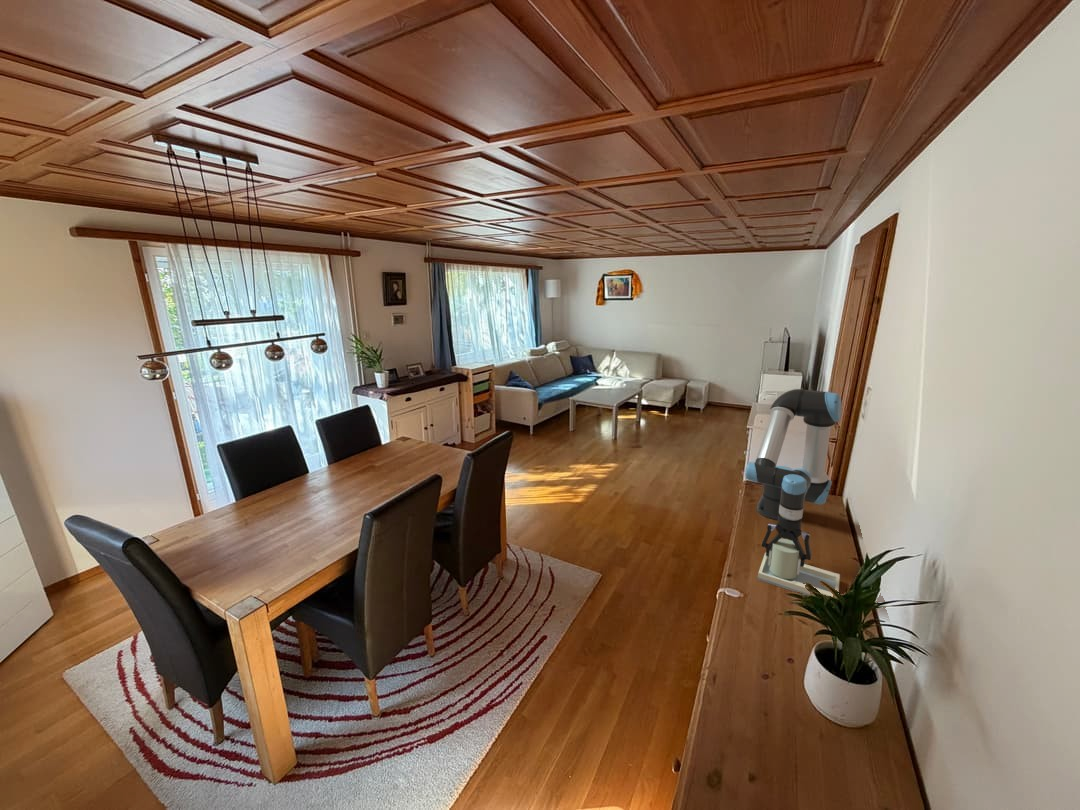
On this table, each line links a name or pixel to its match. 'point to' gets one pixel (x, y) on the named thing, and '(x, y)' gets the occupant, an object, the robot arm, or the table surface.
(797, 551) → the can
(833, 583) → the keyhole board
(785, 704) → the table surface
